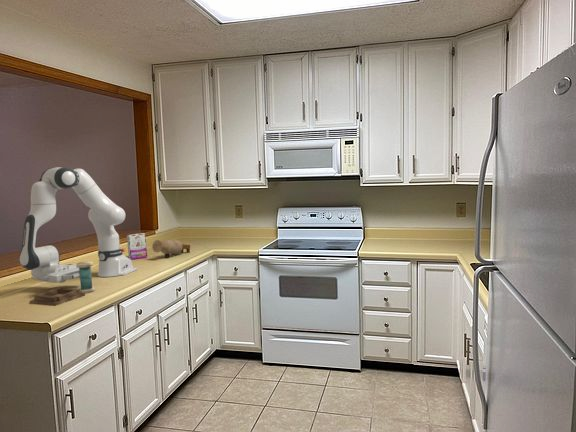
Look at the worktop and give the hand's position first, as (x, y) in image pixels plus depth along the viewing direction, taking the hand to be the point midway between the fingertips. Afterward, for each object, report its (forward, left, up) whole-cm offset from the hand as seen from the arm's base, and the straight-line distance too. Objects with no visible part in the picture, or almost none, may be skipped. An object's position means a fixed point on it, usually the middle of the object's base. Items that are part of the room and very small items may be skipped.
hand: (80, 275), depth 218 cm
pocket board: (+14, 0, -8) cm, 16 cm away
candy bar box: (-76, -31, -8) cm, 82 cm away
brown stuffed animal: (-87, -11, -8) cm, 88 cm away
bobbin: (0, +3, -8) cm, 9 cm away
